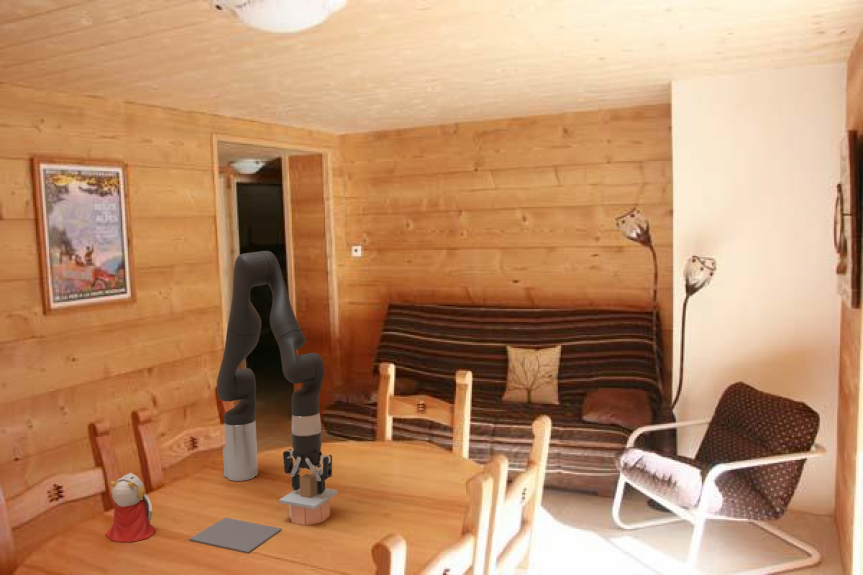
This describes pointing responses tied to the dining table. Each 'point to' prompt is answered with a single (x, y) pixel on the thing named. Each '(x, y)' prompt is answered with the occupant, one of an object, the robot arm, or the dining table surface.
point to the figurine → (130, 511)
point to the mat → (236, 535)
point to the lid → (308, 494)
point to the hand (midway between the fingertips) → (308, 491)
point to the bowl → (309, 514)
